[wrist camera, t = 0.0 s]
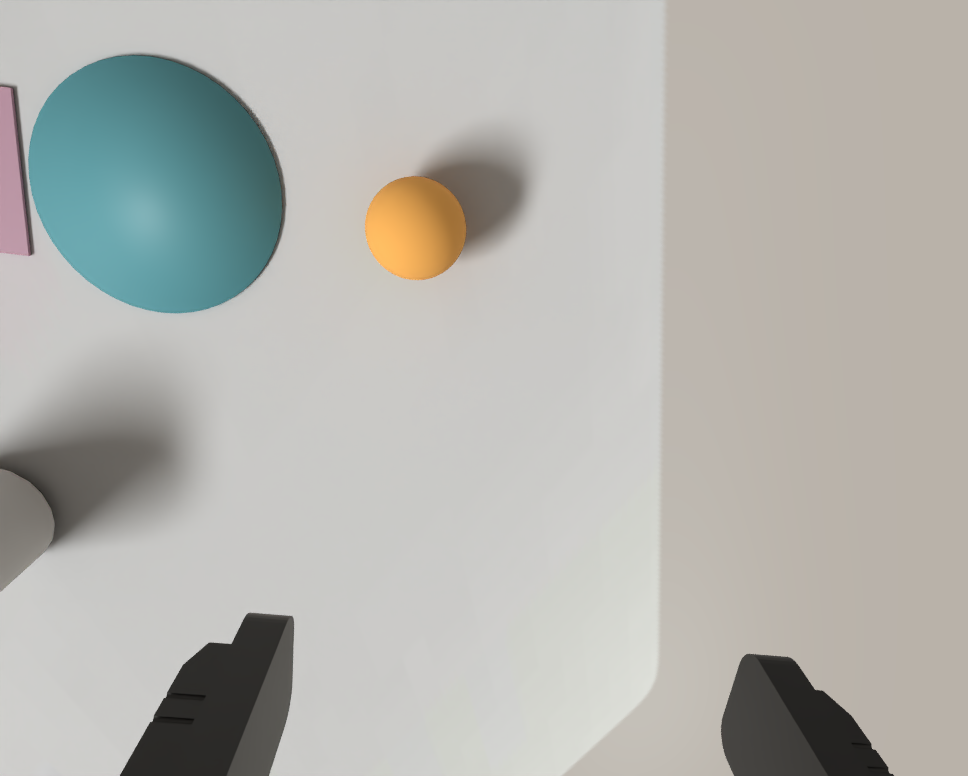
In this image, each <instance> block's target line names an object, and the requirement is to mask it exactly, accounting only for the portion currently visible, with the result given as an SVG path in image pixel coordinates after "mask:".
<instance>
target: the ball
mask: <svg viewBox="0 0 968 776" xmlns="http://www.w3.org/2000/svg"><path fill="white" fill-rule="evenodd" d="M365 232H366V238H367V242H368V245H369V248H370V250H371V252H372V254H373V256H374V257H375V258H376V260H377V261H378V262H379V263H380V264H381V265H382V266H383V267H384V268H385V269H386V270H388V271H389V272H391V273H392V274H394V275H397V276H399V277H402V278H405V279H410V280H424V279H429V278H432V277H435V276H437V275H439V274H441V273H443V272H444V271H446V270H447V269H448V268H449V267H451V266H452V265H453V263H454V262H455V261H456V260H457V258H458V257H459V255H460V253H461V251H462V249H463V246H464V243H465V238H466V221H465V216H464V213H463V210H462V208H461V206H460V204H459V202H458V200H457V199H456V197H455V196H454V195H453V194H452V193H451V192H450V191H449V190H448V189H447V188H446V187H444V186H443V185H442V184H440V183H438V182H436V181H434V180H431V179H429V178H425V177H417V176H411V177H404V178H400V179H397V180H395V181H393V182H391V183H389V184H387V185H386V186H385V187H383V188H382V189H381V190H380V191H379V192H378V193H377V195H376V196H375V197H374V199H373V200H372V202H371V204H370V206H369V208H368V211H367V215H366V221H365Z"/></svg>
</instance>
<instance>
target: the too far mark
mask: <svg viewBox="0 0 968 776" xmlns="http://www.w3.org/2000/svg"><path fill="white" fill-rule="evenodd" d="M0 253H9V254H17V255H26V256H30V255H31V252H30V243H29V234H28V224H27V215H26V206H25V196H24V187H23V178H22V168H21V159H20V150H19V141H18V131H17V122H16V113H15V103H14V94H13V88H8V87H0Z"/></svg>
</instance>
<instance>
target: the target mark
mask: <svg viewBox="0 0 968 776" xmlns="http://www.w3.org/2000/svg"><path fill="white" fill-rule="evenodd" d="M28 161H29V179H30V185H31V191H32V195H33V199H34V202H35V205H36V209H37V212H38V214H39V216H40V219H41V221H42V223H43V226H44V228H45V229H46V231H47V233H48V235H49V236H50V238H51V240H52V242H53V243H54V244H55V246H56V247H57V249H58V250H59V251H60V253H61V254H62V255H63V257H64V258H65V259H66V260H67V261H68V262H69V263H70V264H71V266H72V267H73V268H74V269H75V270H76V271H77V272H79V273H80V274H81V275H82V276H83V277H84V278H85V279H86V280H87V281H89V282H90V283H92V284H93V285H94V286H96V287H97V288H99V289H100V290H101V291H103V292H105V293H107V294H109V295H110V296H112V297H114V298H116V299H118V300H120V301H122V302H125V303H127V304H129V305H132V306H136V307H139V308H142V309H146V310H151V311H157V312H163V313H187V312H195V311H200V310H204V309H208V308H211V307H214V306H216V305H219V304H221V303H223V302H225V301H227V300H229V299H231V298H233V297H235V296H236V295H237V294H239V293H240V292H241V291H243V290H244V289H245V288H247V287H248V286H249V285H250V284H251V283H252V282H253V281H254V280H255V279H256V278H257V276H258V275H259V274H260V272H261V271H262V270H263V268H264V267H265V265H266V264H267V262H268V260H269V258H270V256H271V254H272V252H273V250H274V247H275V244H276V241H277V239H278V234H279V230H280V225H281V215H282V194H281V186H280V180H279V175H278V171H277V168H276V165H275V161H274V158H273V156H272V153H271V151H270V149H269V146H268V144H267V142H266V140H265V138H264V136H263V135H262V133H261V131H260V130H259V128H258V126H257V125H256V123H255V122H254V121H253V119H252V118H251V117H250V115H249V114H248V113H247V111H246V110H245V109H244V108H243V107H242V106H241V105H240V104H239V103H238V102H237V100H236V99H235V98H234V97H233V96H231V95H230V94H229V93H228V92H227V91H225V90H224V89H223V88H222V87H221V86H220V85H218V84H217V83H215V82H214V81H212V80H211V79H209V78H208V77H206V76H205V75H203V74H201V73H199V72H197V71H195V70H193V69H191V68H189V67H186V66H184V65H181V64H178V63H175V62H172V61H170V60H165V59H161V58H156V57H151V56H136V55H131V56H118V57H113V58H108V59H104V60H100V61H97V62H95V63H92V64H90V65H87V66H85V67H83V68H82V69H80V70H78V71H77V72H75V73H73V74H72V75H70V76H69V77H68V78H67V79H66V80H64V81H63V82H62V83H61V84H60V85H59V86H58V87H57V88H56V89H55V90H54V92H53V93H52V94H51V95H50V96H49V97H48V99H47V101H46V102H45V104H44V106H43V107H42V109H41V111H40V113H39V115H38V118H37V120H36V123H35V125H34V128H33V132H32V137H31V141H30V148H29V159H28Z"/></svg>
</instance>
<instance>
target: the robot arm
mask: <svg viewBox="0 0 968 776" xmlns="http://www.w3.org/2000/svg"><path fill="white" fill-rule="evenodd" d="M293 641H294V620H293V617H292V616H284V615H272V614H259V613H248V614H247V615H246V616H245V618H244V620H243V622H242V624H241V626H240V628H239V630H238V632H237V634H236V636H235V638H234V640H233V642H232V644H222V643H208V644H207V645H206V646H205V647H203V648H202V649H201V650H200V651H199V652H198V653H196V654H195V655H194V656H193V657H192V658H191V659H189V660H188V661H187V662H186V663H185V664H184V665H183V666H182V668H181V669H180V671H179V673H178V675H177V676H176V678H175V680H174V682H173V683H172V685H171V687H170V689H169V690H168V692H167V697H166V698H164V699H163V701H162V703H161V704H160V706H159V708H158V710H157V711H156V713H155V715H154V719H153V722H150V724H149V725H148V727H147V729H146V731H145V732H144V734H143V736H142V738H141V739H140V741H139V743H138V745H137V746H136V748H135V750H134V752H133V753H132V755H131V757H130V759H129V760H128V762H127V764H126V766H125V767H124V769H123V771H122V773H121V774H120V776H269V773H270V770H271V767H272V764H273V761H274V758H275V755H276V752H277V749H278V746H279V743H280V739H281V736H282V733H283V730H284V727H285V724H286V720H287V716H288V711H289V706H290V700H291V693H292V675H293ZM721 735H722V744H723V749H724V753H725V756H726V758H727V761H728V763H729V765H730V768H731V770H732V772H733V774H734V776H894V775H893V774H890V773H889V771H888V767H887V765H886V764H885V762H884V761H883V760H882V758H881V757H880V755H879V754H878V753H877V751H876V750H873V749H872V747H871V743H870V741H869V740H868V739H867V737H866V736H865V734H864V733H863V732H862V730H861V729H860V727H859V726H858V724H857V723H856V722H855V720H854V719H853V718H852V716H851V715H850V714H849V713H848V712H846V711H845V710H844V709H843V708H842V707H841V706H840V705H838V704H837V703H836V702H835V701H834V700H833V699H831V698H830V697H829V696H828V695H827V694H826V693H825V692H823V691H819V690H815V689H814V688H813V686H812V685H811V683H810V682H809V680H808V679H807V678H806V676H805V675H804V673H803V672H802V670H801V669H800V667H799V666H798V664H796V662H795V661H794V660H793V659H791V658H789V657H781V656H768V655H756V654H755V655H754V654H747V655H745V656H744V657H743V658H742V660H741V662H740V665H739V668H738V671H737V674H736V677H735V681H734V683H733V687H732V690H731V693H730V696H729V699H728V702H727V705H726V709H725V712H724V715H723V718H722V725H721Z"/></svg>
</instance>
